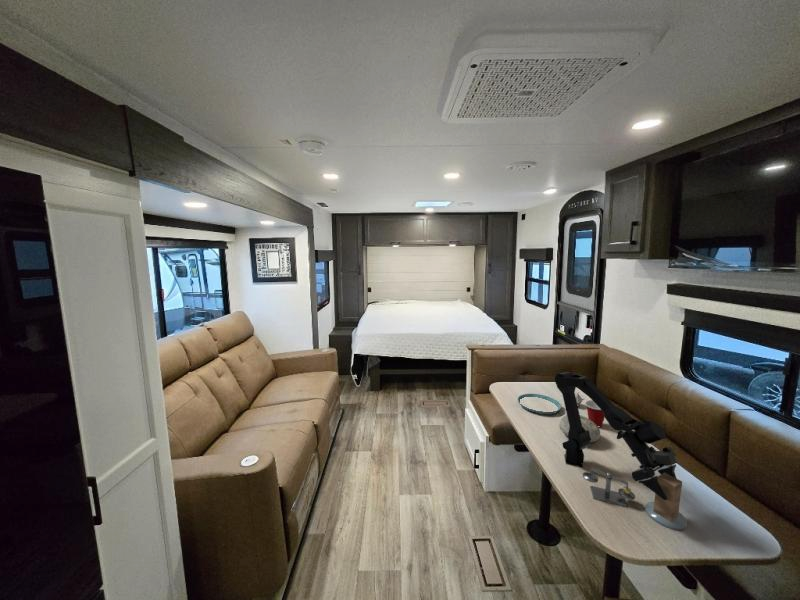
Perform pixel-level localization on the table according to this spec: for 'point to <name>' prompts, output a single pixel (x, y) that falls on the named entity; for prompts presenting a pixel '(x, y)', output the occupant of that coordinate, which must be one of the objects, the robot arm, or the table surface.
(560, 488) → the table surface
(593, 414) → the plastic cup
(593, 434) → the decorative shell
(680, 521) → the slate dish
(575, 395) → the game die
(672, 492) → the walnut block
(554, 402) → the teal ring
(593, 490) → the balance
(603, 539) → the table surface
